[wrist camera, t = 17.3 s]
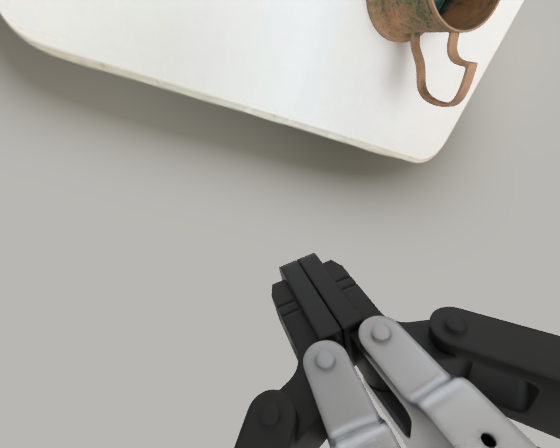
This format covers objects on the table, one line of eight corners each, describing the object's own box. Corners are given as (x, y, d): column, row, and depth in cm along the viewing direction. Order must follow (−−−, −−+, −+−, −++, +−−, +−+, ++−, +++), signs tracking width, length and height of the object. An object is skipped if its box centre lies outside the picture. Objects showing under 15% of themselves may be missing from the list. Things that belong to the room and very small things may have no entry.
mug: (352, 95, 40) (415, 113, 31) (375, -90, 31) (475, -147, 22) (423, 91, 44) (499, 107, 34) (462, -77, 35) (582, -121, 25)
